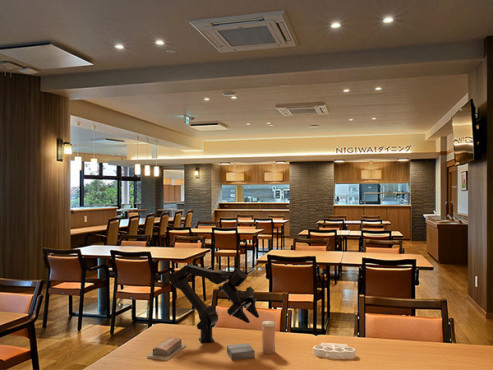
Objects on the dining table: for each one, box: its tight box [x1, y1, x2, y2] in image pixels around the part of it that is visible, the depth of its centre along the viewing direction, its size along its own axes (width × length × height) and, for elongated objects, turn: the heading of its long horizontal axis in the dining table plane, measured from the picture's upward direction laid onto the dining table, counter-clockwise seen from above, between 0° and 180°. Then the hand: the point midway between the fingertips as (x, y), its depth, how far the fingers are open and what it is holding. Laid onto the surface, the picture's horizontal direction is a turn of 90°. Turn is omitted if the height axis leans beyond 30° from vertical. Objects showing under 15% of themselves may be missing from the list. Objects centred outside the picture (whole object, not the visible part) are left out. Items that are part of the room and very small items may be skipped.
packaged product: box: [146, 336, 186, 361], centre depth 195 cm, size 18×5×10 cm
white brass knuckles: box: [312, 342, 356, 360], centre depth 191 cm, size 3×18×15 cm
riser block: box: [226, 342, 256, 361], centre depth 191 cm, size 10×10×3 cm
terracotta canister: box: [261, 320, 276, 355], centre depth 194 cm, size 6×6×13 cm
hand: (253, 320), depth 198 cm, fingers open, 9 cm apart
